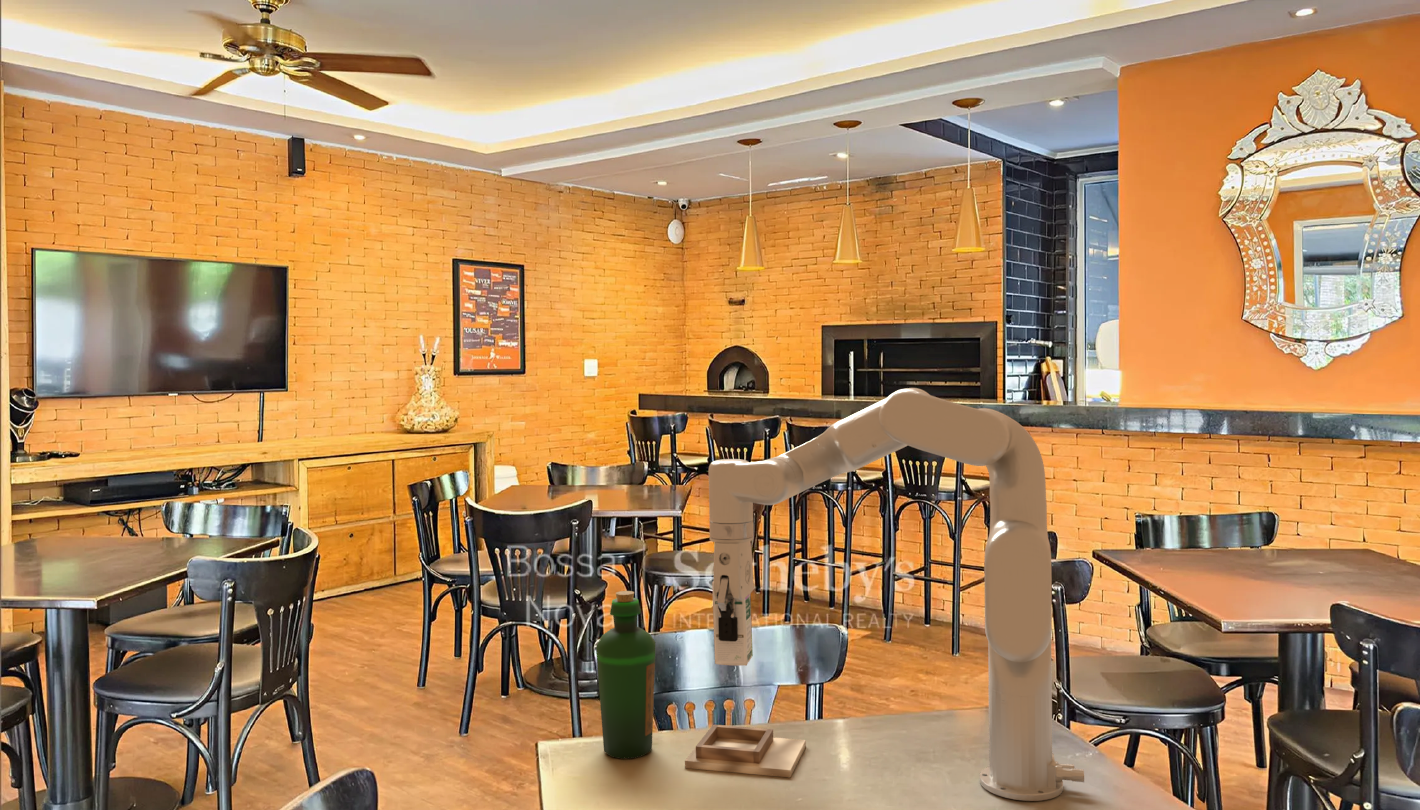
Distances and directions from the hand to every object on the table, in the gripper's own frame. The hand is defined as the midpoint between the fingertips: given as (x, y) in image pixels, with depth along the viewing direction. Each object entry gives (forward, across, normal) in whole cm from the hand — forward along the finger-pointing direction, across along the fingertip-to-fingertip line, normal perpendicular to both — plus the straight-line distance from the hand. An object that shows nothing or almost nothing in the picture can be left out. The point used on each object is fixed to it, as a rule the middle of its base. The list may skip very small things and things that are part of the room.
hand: (733, 634), depth 171 cm
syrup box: (+5, 0, 0) cm, 5 cm away
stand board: (+21, 0, -2) cm, 21 cm away
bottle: (+21, -2, +19) cm, 29 cm away
